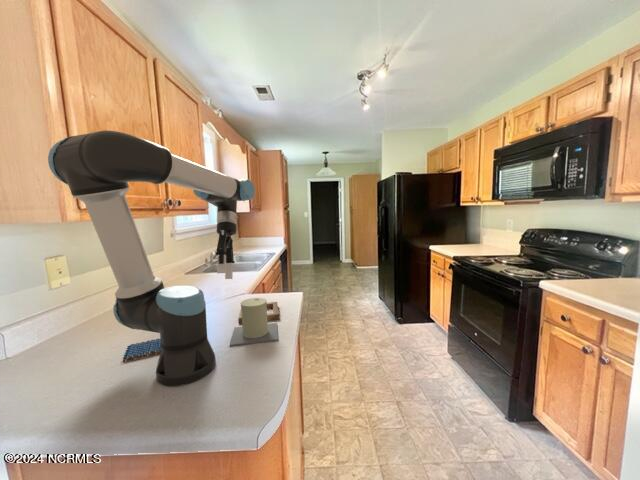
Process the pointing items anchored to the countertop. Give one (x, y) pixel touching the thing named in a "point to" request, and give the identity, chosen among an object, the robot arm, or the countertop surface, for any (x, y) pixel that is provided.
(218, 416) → the countertop surface
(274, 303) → the cradle
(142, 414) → the countertop surface
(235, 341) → the pad
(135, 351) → the woven mat
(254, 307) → the can
